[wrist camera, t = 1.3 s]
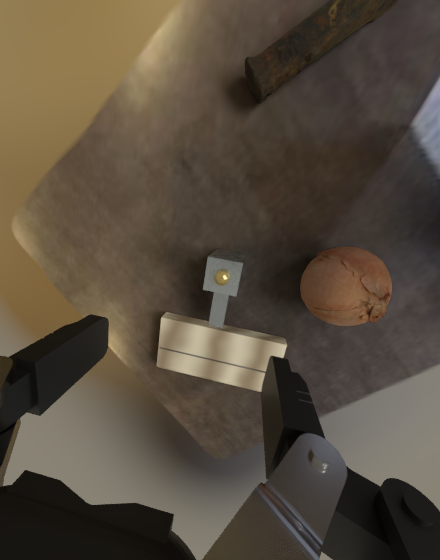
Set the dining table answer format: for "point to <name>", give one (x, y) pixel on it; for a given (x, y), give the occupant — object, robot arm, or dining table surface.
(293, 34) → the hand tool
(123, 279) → the dining table surface
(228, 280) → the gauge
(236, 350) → the board
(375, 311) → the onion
